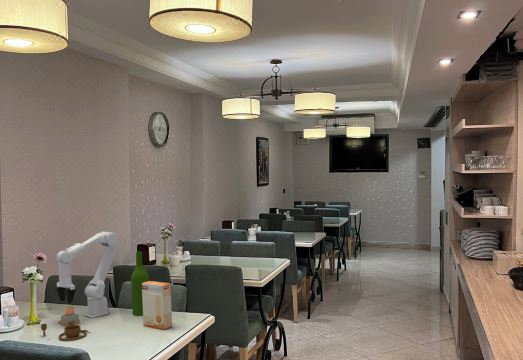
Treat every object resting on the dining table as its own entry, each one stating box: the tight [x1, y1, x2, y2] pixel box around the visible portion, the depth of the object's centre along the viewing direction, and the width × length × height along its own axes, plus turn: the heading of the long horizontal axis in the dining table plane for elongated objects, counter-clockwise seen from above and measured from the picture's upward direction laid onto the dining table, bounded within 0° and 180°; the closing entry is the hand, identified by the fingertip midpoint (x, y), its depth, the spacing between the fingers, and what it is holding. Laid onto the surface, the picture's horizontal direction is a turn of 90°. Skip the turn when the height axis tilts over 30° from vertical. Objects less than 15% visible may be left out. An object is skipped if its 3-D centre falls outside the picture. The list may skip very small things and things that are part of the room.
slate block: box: [60, 312, 80, 323], centre depth 245 cm, size 6×6×2 cm
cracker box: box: [142, 280, 173, 331], centre depth 236 cm, size 14×6×21 cm, turn 55°
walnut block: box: [58, 319, 81, 328], centre depth 245 cm, size 7×7×2 cm
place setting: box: [40, 323, 91, 342], centre depth 228 cm, size 18×20×6 cm
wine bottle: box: [130, 250, 150, 317], centre depth 259 cm, size 9×9×32 cm
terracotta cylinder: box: [64, 305, 75, 316], centre depth 245 cm, size 4×4×4 cm
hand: (66, 302), depth 247 cm, fingers open, 7 cm apart
